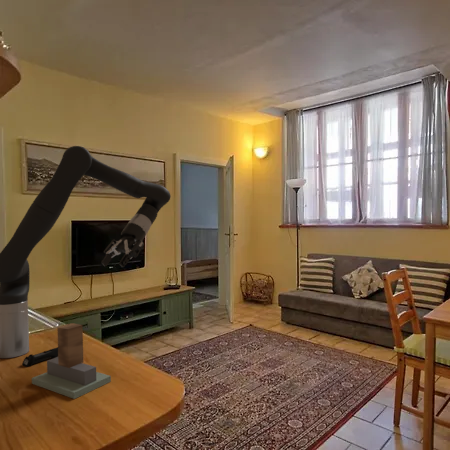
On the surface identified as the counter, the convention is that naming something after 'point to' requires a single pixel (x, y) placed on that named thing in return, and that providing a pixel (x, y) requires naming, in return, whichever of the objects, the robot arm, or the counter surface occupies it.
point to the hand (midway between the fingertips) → (112, 265)
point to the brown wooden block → (70, 345)
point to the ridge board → (69, 385)
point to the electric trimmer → (40, 357)
